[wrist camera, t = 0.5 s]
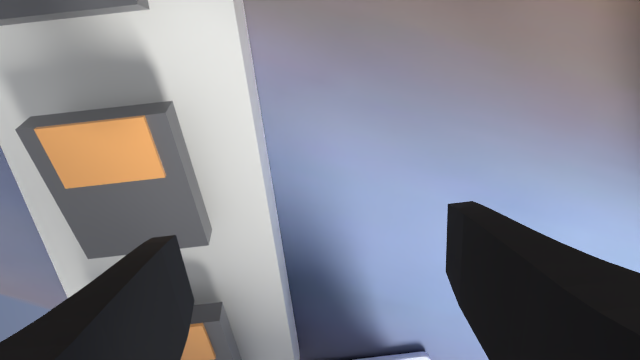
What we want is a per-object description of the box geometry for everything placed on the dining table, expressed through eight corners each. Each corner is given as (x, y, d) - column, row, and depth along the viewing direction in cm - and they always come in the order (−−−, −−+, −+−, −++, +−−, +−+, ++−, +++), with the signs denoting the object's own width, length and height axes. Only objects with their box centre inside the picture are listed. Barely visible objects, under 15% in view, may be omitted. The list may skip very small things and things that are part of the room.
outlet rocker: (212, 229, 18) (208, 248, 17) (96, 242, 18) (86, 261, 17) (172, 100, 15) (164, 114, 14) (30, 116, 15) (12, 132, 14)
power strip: (305, 384, 27) (306, 429, 24) (150, 403, 27) (134, 449, 24) (201, -256, 14) (179, -316, 11) (-93, -226, 14) (-187, -279, 11)
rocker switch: (247, 377, 22) (246, 399, 21) (152, 388, 22) (146, 411, 21) (222, 301, 18) (218, 324, 17) (109, 314, 18) (99, 337, 17)
